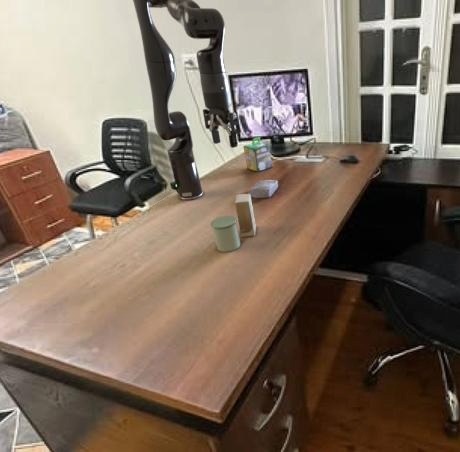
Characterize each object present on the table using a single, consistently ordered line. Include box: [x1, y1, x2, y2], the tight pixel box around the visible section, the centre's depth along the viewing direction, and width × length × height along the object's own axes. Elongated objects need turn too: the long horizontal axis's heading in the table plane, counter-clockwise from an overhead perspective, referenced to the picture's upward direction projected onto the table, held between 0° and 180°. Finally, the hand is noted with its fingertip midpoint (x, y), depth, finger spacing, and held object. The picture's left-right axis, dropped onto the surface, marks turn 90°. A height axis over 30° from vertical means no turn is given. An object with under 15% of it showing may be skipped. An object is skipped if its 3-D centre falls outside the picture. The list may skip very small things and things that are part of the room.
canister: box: [210, 215, 241, 253], centre depth 104 cm, size 7×7×8 cm
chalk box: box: [243, 136, 273, 173], centre depth 167 cm, size 9×9×15 cm
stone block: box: [248, 179, 279, 199], centre depth 142 cm, size 12×5×10 cm
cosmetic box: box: [234, 193, 257, 238], centre depth 110 cm, size 6×4×12 cm
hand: (225, 145), depth 109 cm, fingers open, 8 cm apart
